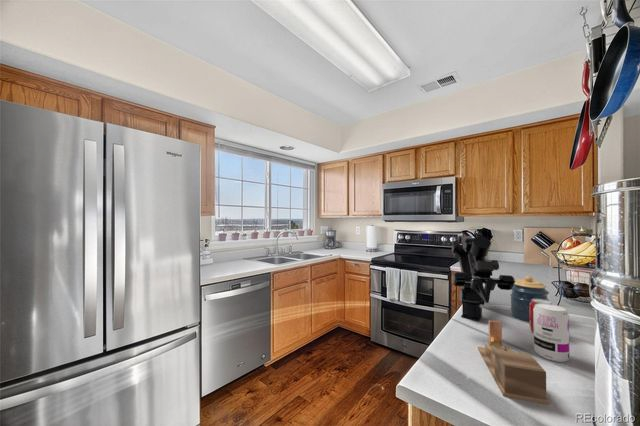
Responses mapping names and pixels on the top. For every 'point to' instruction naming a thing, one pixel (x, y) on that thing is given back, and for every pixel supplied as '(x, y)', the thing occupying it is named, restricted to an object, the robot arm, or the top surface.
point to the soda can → (532, 305)
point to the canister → (526, 296)
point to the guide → (516, 374)
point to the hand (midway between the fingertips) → (487, 302)
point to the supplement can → (551, 332)
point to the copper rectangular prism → (495, 335)
